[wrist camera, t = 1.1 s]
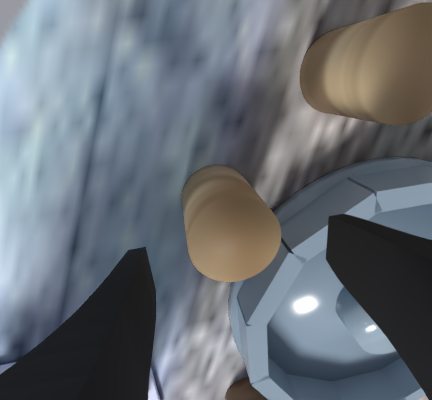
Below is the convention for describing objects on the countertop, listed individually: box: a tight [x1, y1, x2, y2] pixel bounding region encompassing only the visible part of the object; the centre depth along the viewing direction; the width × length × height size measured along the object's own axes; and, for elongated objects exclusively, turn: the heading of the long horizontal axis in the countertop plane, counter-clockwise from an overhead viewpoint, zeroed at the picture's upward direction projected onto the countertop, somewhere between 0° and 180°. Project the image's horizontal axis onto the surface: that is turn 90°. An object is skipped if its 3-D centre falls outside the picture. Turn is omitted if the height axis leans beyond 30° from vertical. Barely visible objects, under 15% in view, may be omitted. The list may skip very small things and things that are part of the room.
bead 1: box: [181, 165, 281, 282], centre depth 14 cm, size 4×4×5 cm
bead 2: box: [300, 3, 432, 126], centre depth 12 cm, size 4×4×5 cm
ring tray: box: [228, 157, 432, 400], centre depth 19 cm, size 20×20×4 cm
